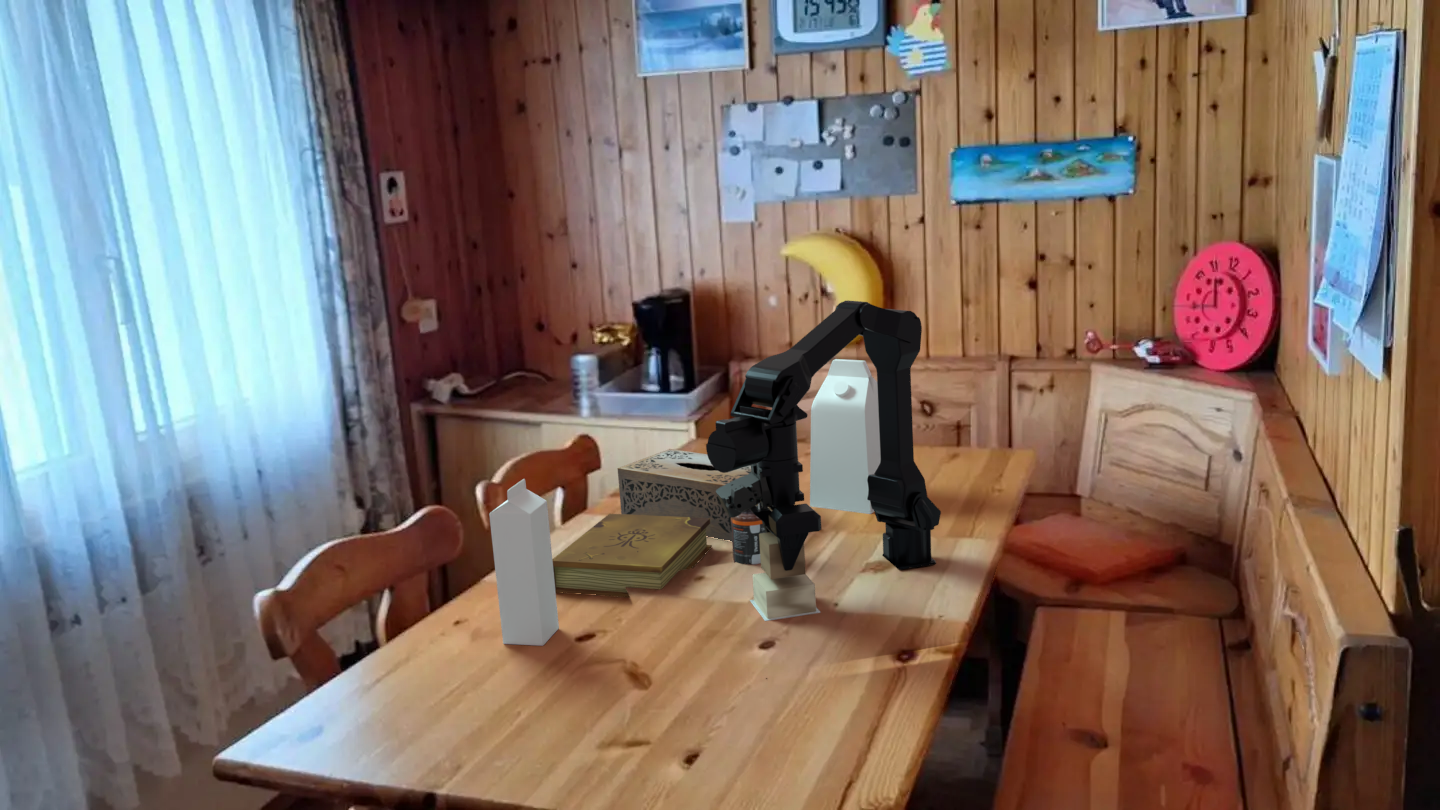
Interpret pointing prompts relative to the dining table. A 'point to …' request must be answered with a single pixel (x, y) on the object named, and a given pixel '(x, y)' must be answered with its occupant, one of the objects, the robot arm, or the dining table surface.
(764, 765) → the dining table surface
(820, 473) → the milk
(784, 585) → the maple block
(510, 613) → the milk
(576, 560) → the diary
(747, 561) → the supplement bottle
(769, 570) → the walnut cube
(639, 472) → the tissue box cover
